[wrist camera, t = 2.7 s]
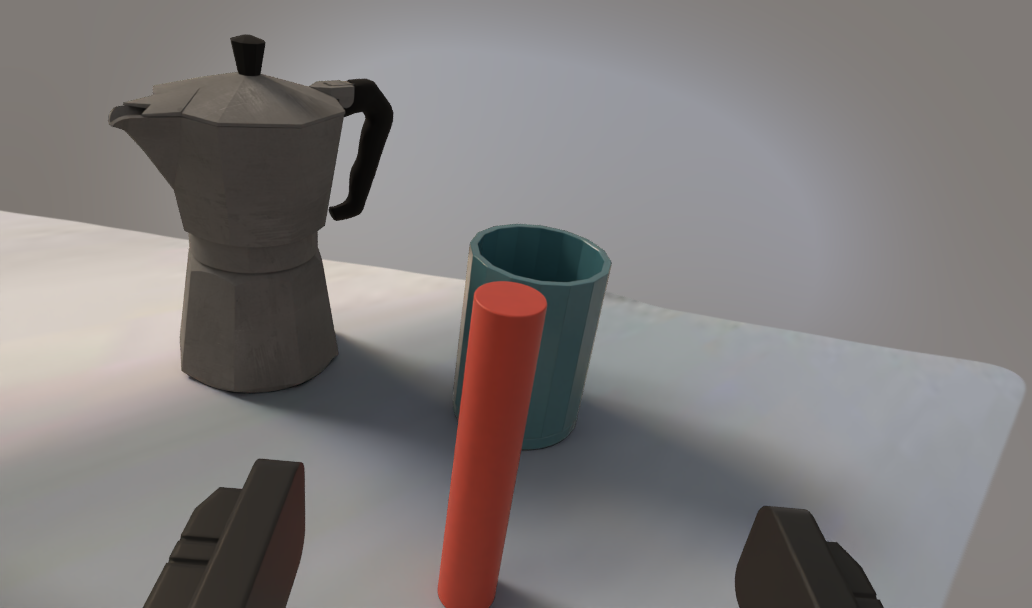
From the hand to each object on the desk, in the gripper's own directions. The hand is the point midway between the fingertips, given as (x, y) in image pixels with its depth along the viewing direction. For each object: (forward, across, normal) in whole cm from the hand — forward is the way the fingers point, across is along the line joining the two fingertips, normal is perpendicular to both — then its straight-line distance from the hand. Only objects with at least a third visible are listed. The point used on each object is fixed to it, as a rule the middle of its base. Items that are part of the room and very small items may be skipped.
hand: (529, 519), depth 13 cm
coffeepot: (+28, +13, +16) cm, 34 cm away
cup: (+24, -2, +15) cm, 29 cm away
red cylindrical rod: (+11, 0, +16) cm, 19 cm away
